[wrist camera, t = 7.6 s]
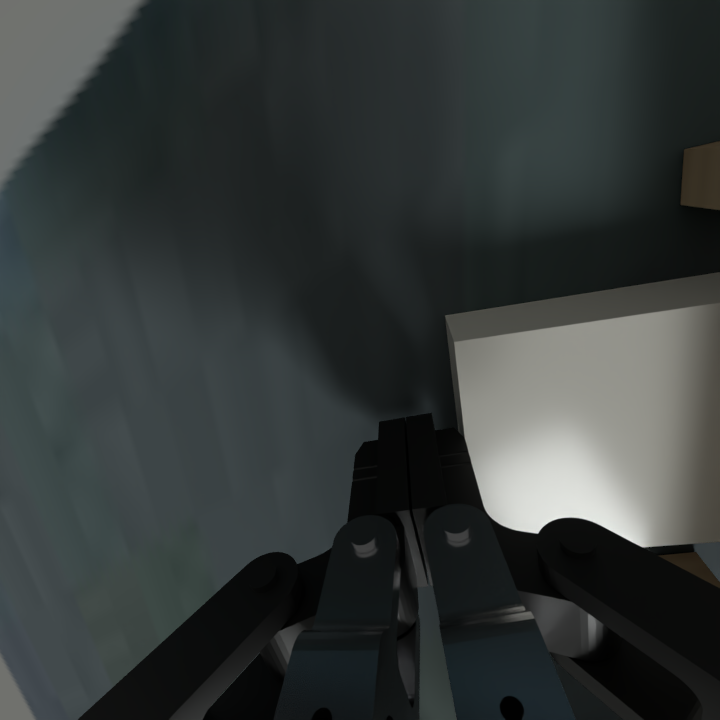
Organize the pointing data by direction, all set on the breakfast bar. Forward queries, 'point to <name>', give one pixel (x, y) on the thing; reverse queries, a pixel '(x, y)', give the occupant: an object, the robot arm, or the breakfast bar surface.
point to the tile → (596, 409)
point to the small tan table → (712, 191)
